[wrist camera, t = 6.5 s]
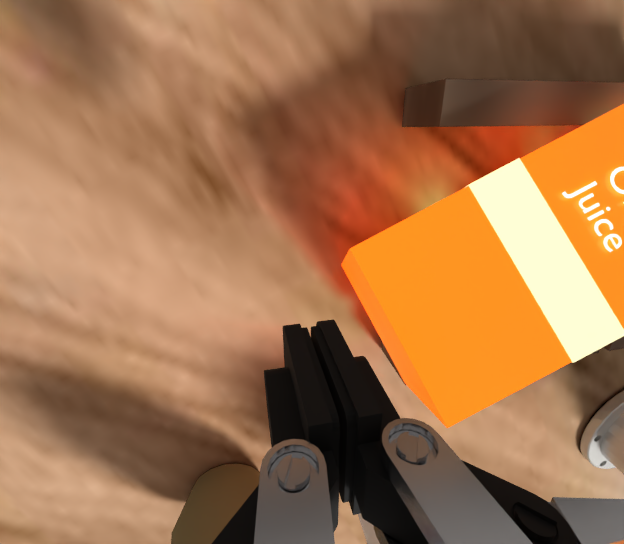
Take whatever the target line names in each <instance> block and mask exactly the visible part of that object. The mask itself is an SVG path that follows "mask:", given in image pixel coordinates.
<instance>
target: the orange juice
mask: <svg viewBox="0 0 624 544" xmlns="http://www.w3.org/2000/svg"><path fill="white" fill-rule="evenodd" d="M341 266H342V268H343V269H344V271H345V273H346V275H347V277H348V279H349V281H350V282H351V284H352V286H353V288H354V290H355V292H356V294H357V295H358V297H359V299H360V301H361V303H362V305H363V307H364V308H365V310H366V312H367V314H368V316H369V318H370V320H371V321H372V323H373V325H374V327H375V329H376V331H377V333H378V334H379V336H380V338H381V340H382V342H383V344H384V346H385V347H386V349H387V351H388V353H389V355H390V357H391V359H392V360H393V362H394V364H395V366H396V368H397V370H398V372H399V373H400V375H401V377H402V379H403V381H404V383H405V384H406V385H407V386H408V387H409V388H410V389H411V390H412V391H413V392H414V393H415V394H416V395H417V396H418V398H419V399H420V400H421V401H422V402H423V403H424V404H425V405H426V406H427V407H428V408H429V409H430V410H431V411H432V412H433V413H434V415H435V416H436V417H437V418H438V419H439V420H440V421H441V422H442V423H443V424H444V425H445V426H446V427H447V428H448V427H450V426H452V425H454V424H456V423H458V422H460V421H462V420H463V419H465V418H467V417H469V416H471V415H473V414H475V413H477V412H479V411H480V410H482V409H484V408H486V407H488V406H490V405H492V404H494V403H496V402H497V401H499V400H501V399H503V398H505V397H507V396H509V395H511V394H512V393H514V392H516V391H518V390H520V389H522V388H524V387H526V386H528V385H529V384H531V383H533V382H535V381H537V380H539V379H541V378H543V377H544V376H546V375H548V374H550V373H552V372H554V371H556V370H558V369H560V368H561V367H563V366H565V365H567V364H569V363H571V362H572V363H574V362H576V361H578V360H580V359H582V358H583V357H585V356H587V355H589V354H591V353H593V352H595V351H597V350H598V349H600V348H602V347H604V346H606V345H608V344H610V343H612V342H614V341H615V340H617V339H619V338H621V337H623V336H624V104H622V105H620V106H619V107H617V108H615V109H613V110H611V111H609V112H607V113H605V114H603V115H602V116H600V117H598V118H596V119H594V120H592V121H590V122H588V123H586V124H585V125H583V126H581V127H579V128H577V129H575V130H573V131H571V132H569V133H567V134H566V135H564V136H562V137H560V138H558V139H556V140H554V141H552V142H550V143H549V144H547V145H545V146H543V147H541V148H539V149H537V150H535V151H533V152H532V153H530V154H528V155H526V156H524V157H522V158H518V159H516V160H514V161H512V162H510V163H509V164H507V165H505V166H503V167H501V168H499V169H497V170H495V171H493V172H492V173H490V174H488V175H486V176H484V177H482V178H480V179H478V180H476V181H474V182H473V183H471V184H469V185H467V186H466V187H465V188H463V189H462V190H460V191H458V192H456V193H454V194H452V195H450V196H448V197H446V198H445V199H443V200H441V201H439V202H437V203H435V204H433V205H431V206H429V207H427V208H426V209H424V210H422V211H420V212H418V213H416V214H414V215H412V216H410V217H409V218H407V219H405V220H403V221H401V222H399V223H397V224H395V225H393V226H392V227H390V228H388V229H386V230H384V231H382V232H380V233H378V234H376V235H375V236H373V237H371V238H369V239H367V240H365V241H363V242H361V243H359V244H357V245H356V246H354V247H352V248H350V249H349V251H348V253H347V255H346V257H345V258H344V260H343V262H342V264H341Z"/></svg>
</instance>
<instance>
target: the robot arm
mask: <svg viewBox="0 0 624 544" xmlns="http://www.w3.org/2000/svg"><path fill="white" fill-rule="evenodd" d="M283 343H284V361H285V368H278V369H271V370H264V378H265V389H266V400H267V410H268V419H269V428H270V437H271V445H272V448H271V449H270V450H269V451H268V452H267V454H266V455H265V457H264V459H263V461H262V464H261V468H260V478H259V485H258V486H257V487H256V489H255V490H254V491H253V492H252V494H251V495H250V496H249V497H248V499H247V500H246V501H245V502H244V504H243V505H242V506H241V507H240V509H239V510H238V511H237V512H236V514H235V515H234V516H233V517H232V519H231V520H230V521H229V522H228V524H227V525H226V526H225V527H224V529H223V530H222V531H221V532H220V534H219V535H218V536H217V537H216V539H215V540H214V541H213V542H212V544H335V542H334V531H335V529H336V527H337V525H338V503H339V493H340V496H341V499H342V502H343V503H344V502H348V501H349V503H350V506H351V509H352V513H353V515H355V514H359V513H361V515H362V518H363V519H364V520H366V521H367V522H369V523H370V524H372V525H373V526H374V531H375V534H376V537H377V539H378V541H379V543H380V544H624V499H596V498H560V497H553V498H552V500H551V502H547V501H545V500H544V499H542V498H540V497H538V496H537V495H535V494H533V493H531V492H529V491H527V490H524V489H522V488H520V487H518V486H516V485H514V484H512V483H509V482H507V481H505V480H503V479H501V478H499V477H497V476H494V475H492V474H490V473H488V472H486V471H484V470H482V469H479V468H477V467H475V466H473V465H471V464H469V463H466V462H464V461H462V460H460V458H459V457H458V456H457V455H456V454H455V453H454V451H453V450H452V449H451V448H450V447H449V446H448V444H447V443H446V442H445V441H444V440H443V439H442V437H441V436H440V435H439V434H438V433H437V432H436V431H435V430H434V429H433V428H432V427H430V426H429V425H427V424H425V423H424V422H422V421H418V420H415V419H410V418H401V419H400V417H399V415H398V413H397V412H396V410H395V408H394V406H393V405H392V403H391V401H390V399H389V398H388V396H387V394H386V392H385V391H384V389H383V387H382V385H381V384H380V382H379V380H378V378H377V377H376V375H375V373H374V371H373V369H372V368H371V366H370V364H369V362H368V361H367V359H366V358H365V357H364V356H359V357H353V355H352V353H351V351H350V349H349V347H348V345H347V343H346V342H345V340H344V338H343V336H342V334H341V332H340V330H339V328H338V326H337V324H336V322H335V321H334V320H327V321H318V322H317V324H316V326H314V327H311V337H310V334H309V332H308V329H307V327H306V328H301V325H300V324H294V325H286V326H283ZM580 449H581V452H582V455H583V456H584V457H585V459H587V460H588V461H589V462H590V463H591V464H592V465H593V466H595V467H597V468H604V469H610V468H617V469H618V470H619V471H621V472H622V473H623V474H624V390H623V391H622V392H620V393H619V394H617V395H616V396H614V397H613V398H612V399H611V400H609V401H608V402H607V403H606V404H605V405H604V406H603V407H602V408H600V409H599V411H598V412H597V413H596V414H595V415H594V416H593V418H592V419H591V420H590V422H589V423H588V425H587V426H586V428H585V430H584V433H583V435H582V438H581V446H580Z"/></svg>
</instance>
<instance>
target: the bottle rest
mask: <svg viewBox="0 0 624 544" xmlns="http://www.w3.org/2000/svg"><path fill="white" fill-rule="evenodd" d="M622 104H624V82H584V81H532V80H479V79H443V80H439V81H435V82H431V83H426V84H422V85H418V86H414V87H409V88H406V90H405V101H404V112H403V123H402V127H448V126H541V125H585V124H586V123H588V122H590V121H592V120H594V119H596V118H598V117H600V116H602V115H603V114H605V113H607V112H609V111H611V110H613V109H615V108H617V107H619V106H620V105H622ZM603 348H605V349H607V350H609V351H611V350H617V349H622V348H624V336H623V337H621V338H619V339H617V340H615V341H614V342H612V343H610V344H608V345H606V346H604V347H603ZM599 350H600V349H598V350H597V351H595V352H593V353H598V352H599ZM382 351H383V352H384V354H385V355H386V357H387V358H388V360H389V361H390V363H391V364H392V366H393V367H394V369H395V370H396V372H397V373H398V375H399V376H400V378H401V379H402V377H401V375H400V373H399V372H398V370H397V368H396V366H395V364H394V362H393V360H392V359H391V357H390V355H389V353H388V351H387V349H386V347H385V346H384V344H383V342H382ZM593 353H591V354H593ZM402 381H403V379H402ZM403 382H404V381H403ZM404 384H405V383H404ZM405 385H406V384H405Z"/></svg>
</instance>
